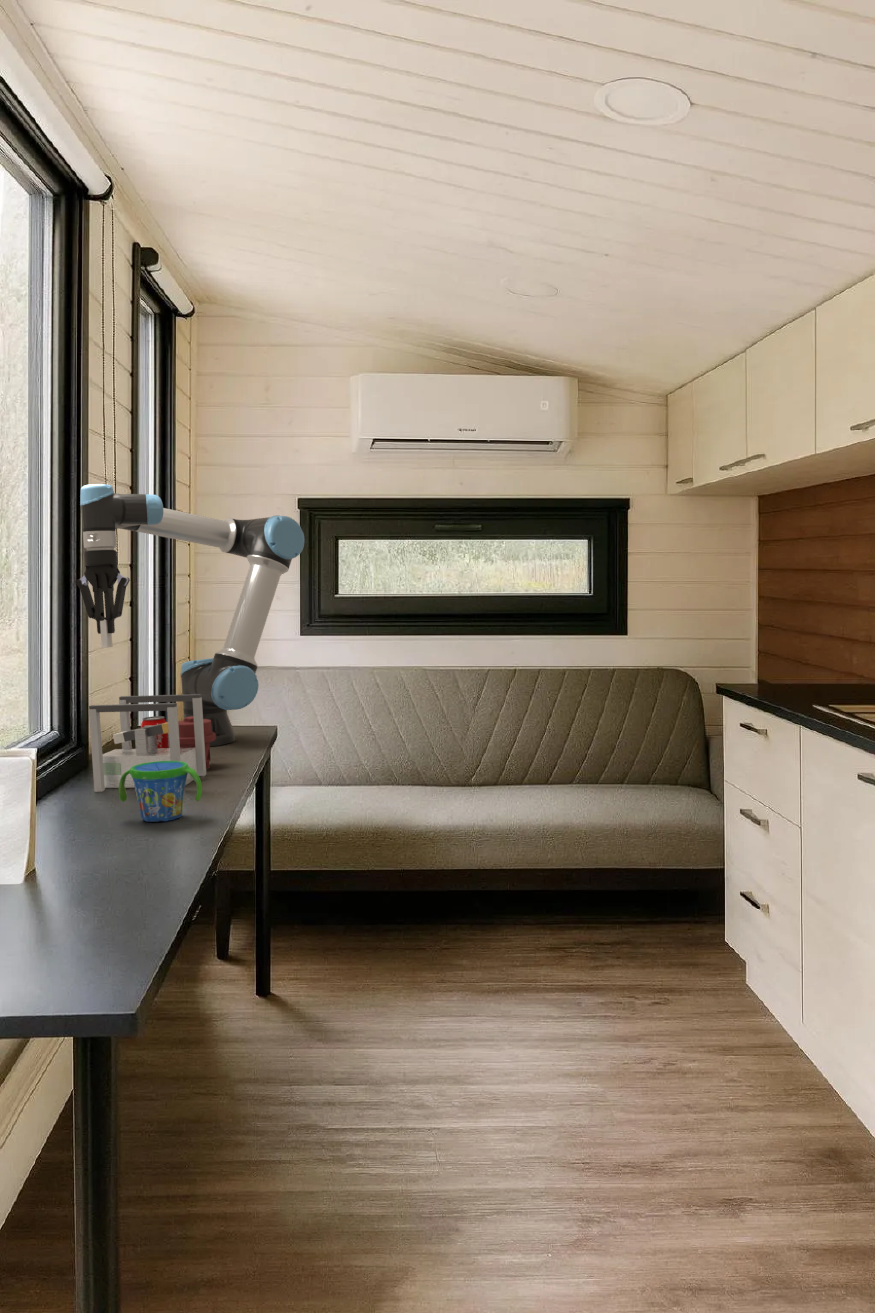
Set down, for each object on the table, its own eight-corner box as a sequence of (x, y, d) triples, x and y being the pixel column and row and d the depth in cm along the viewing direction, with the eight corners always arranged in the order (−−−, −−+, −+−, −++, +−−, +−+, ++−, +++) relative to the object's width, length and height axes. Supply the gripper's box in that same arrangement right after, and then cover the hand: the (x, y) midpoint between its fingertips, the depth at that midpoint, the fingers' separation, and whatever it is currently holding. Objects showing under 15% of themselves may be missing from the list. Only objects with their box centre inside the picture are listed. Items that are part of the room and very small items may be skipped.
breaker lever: (120, 741, 222) (118, 732, 222) (178, 729, 220) (176, 720, 220) (114, 744, 219) (112, 734, 219) (173, 731, 217) (171, 722, 217)
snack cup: (212, 812, 191) (209, 760, 190) (188, 826, 180) (184, 771, 179) (138, 811, 194) (134, 760, 193) (110, 825, 183) (106, 771, 183)
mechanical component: (183, 764, 241) (222, 763, 240) (168, 773, 231) (209, 772, 230) (180, 714, 240) (219, 713, 239) (164, 721, 230) (206, 719, 229)
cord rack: (127, 776, 230) (121, 696, 228) (206, 774, 227) (201, 694, 226) (94, 792, 213) (88, 706, 212) (179, 790, 211) (174, 704, 209)
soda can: (157, 769, 236) (154, 720, 235) (137, 768, 238) (134, 719, 237) (175, 764, 241) (172, 716, 240) (155, 763, 244) (152, 715, 243)
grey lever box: (117, 779, 226) (113, 725, 225) (197, 778, 224) (193, 723, 223) (98, 788, 217) (95, 732, 216) (182, 787, 215) (178, 730, 214)
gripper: (67, 550, 235) (74, 649, 237) (119, 548, 233) (126, 647, 235) (82, 550, 242) (88, 646, 244) (132, 548, 241) (139, 645, 243)
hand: (107, 647), depth 240 cm, fingers closed
